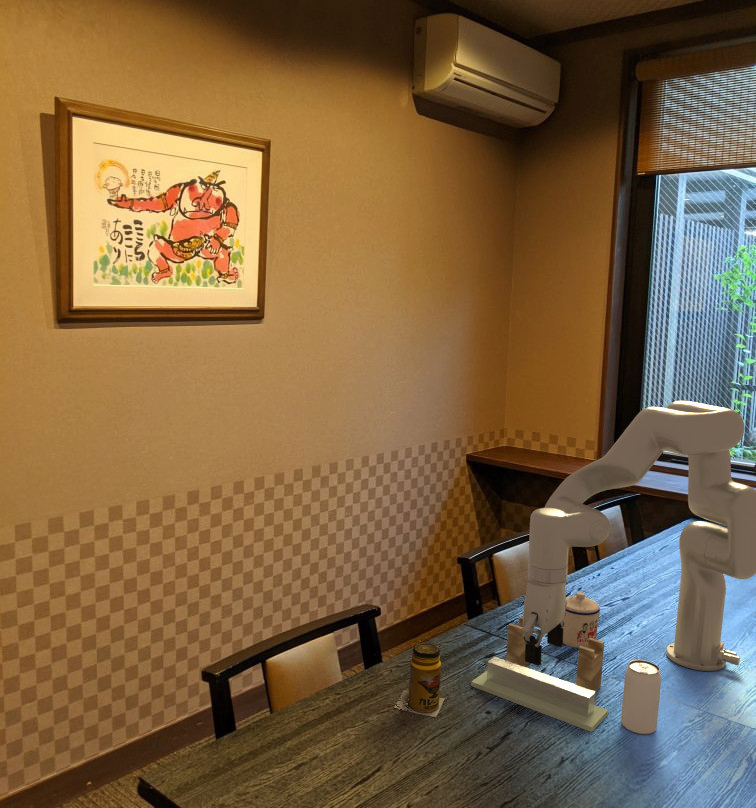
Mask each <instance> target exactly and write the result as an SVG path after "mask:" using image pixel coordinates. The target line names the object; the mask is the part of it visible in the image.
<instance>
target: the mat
mask: <svg viewBox="0 0 756 808" xmlns="http://www.w3.org/2000/svg"><path fill="white" fill-rule="evenodd" d="M470 686H471V687H473V688H475V689H478V690H481V691H483V692H486V693H488V694H491V695H494V696H496V697H499V698H501V699H504V700H506V701H509V702H512V703H514V704H517V705H519V706H522V707H525V708H528V709H530V710H533V711H536V712H538V713H540V714H543V715H545V716H548V717H551V718H554V719H557V720H558V721H562V722H564V723H567V724H570V725H572V726H574V727H578V728H580V729H582V730H585V731H587V732H590V733H593V732H594V730H595V729H596V728H597V727H598V726H599V725H600V724H601V723H602V722H603V721H604V720H605V719H606V718H607V717H608V715H609V709H606V708H603V707H601V706H598V705H596V704H594V712H593V713H592V714H591V715H590V716H589V717H585V716H583V715H580V714H577V713H575V712H572V711H569V710H566V709H564V708H561V707H558V706H556V705H553V704H550V703H548V702H545V701H542V700H539V699H537V698H534V697H531V696H529V695H526V694H523V693H521V692H518V691H515V690H513V689H510V688H507V687H504V686H502V685H499V684H496V683H494V682H491V681H488V680H487V670H485V671H484V672H483V673H482V674H480V675H478V676H477V677H476V678H474V679H473V680H471V685H470Z"/></svg>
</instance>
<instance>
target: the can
mask: <svg viewBox="0 0 756 808" xmlns="http://www.w3.org/2000/svg"><path fill="white" fill-rule="evenodd" d="M660 671H661V669H660V667H659V666H658V665H657V664H655V663H653V662H652V661H648V660H644V659H634V660H631V661H629V662H628V663H627V668H626V669H625V673H624V680H623V681H624V683H623V694H622V705H621V717H620V718H621V719H620V723H621V724H622V726H623V728H625V729H626V730H627V731H629V732H630V733H633V734H637V735H643V736H644V735H651V734H653V733H654V732H655V731H656V730H657V727H658V718H659V709H660V697H661V689H662V688H661V687H662V675H661V673H660Z"/></svg>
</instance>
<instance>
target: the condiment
mask: <svg viewBox="0 0 756 808" xmlns="http://www.w3.org/2000/svg"><path fill="white" fill-rule="evenodd" d="M440 653H441V649H440V647H438V645H436V644H434V643H430V642H420V643H417V644H415V645H414V646H413V647H412V654H411V655H412V656H411V659H410V660H409V661H410V663H409V683H408V690H404V689H403V691H402V694H401V695H400V697H399V698H398V700H401V701H396V704H400V705H397V706H400V708H398V707H397V706H396V705H394V707H393V709H394V708H398V709H397V710H399V711H404V712H410V713H413V714H418V715H422V716H426V717H433V718H437V716H438V714H439V712H440V710H441V709H442V706H443V703H444V701H445V699H446V698H445V697H444V698H443V697H440V694H441V691H440V690H441V675H442V674H441V673H442V662H441V660H440V659H441V656H440ZM406 697H407V698H406ZM400 698H401V699H400ZM408 699H409V700H408ZM404 701H405V702H404ZM403 703H408V706H409V707H410V708H411V709H412V711H407V710H410V709H406V708H405V707H406V706H407V705H406V706H404V707H402V706H403V705H404V704H403ZM408 706H407V707H408ZM400 709H402V710H400Z"/></svg>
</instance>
